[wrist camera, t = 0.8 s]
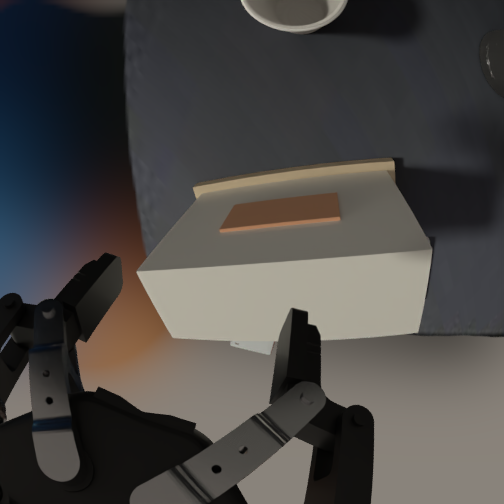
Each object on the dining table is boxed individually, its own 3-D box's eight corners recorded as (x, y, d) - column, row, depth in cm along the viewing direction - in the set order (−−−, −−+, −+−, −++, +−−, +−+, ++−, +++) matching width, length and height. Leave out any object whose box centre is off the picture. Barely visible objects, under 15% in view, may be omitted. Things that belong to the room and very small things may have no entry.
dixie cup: (291, -31, 19) (279, -68, 11) (355, 10, 21) (370, -16, 13) (245, 18, 24) (216, -2, 16) (308, 59, 26) (305, 51, 18)
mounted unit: (391, 157, 29) (447, 234, 15) (393, 233, 35) (426, 338, 20) (197, 183, 37) (122, 262, 22) (218, 248, 42) (168, 343, 28)
